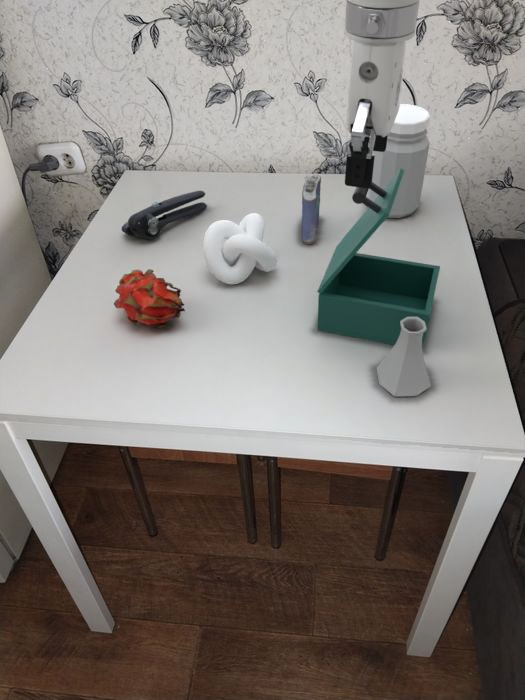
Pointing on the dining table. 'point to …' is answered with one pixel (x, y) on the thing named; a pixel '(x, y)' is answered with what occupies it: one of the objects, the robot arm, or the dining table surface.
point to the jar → (404, 159)
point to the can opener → (150, 226)
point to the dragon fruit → (148, 299)
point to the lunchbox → (377, 298)
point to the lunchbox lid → (362, 225)
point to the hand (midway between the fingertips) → (366, 167)
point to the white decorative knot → (237, 249)
